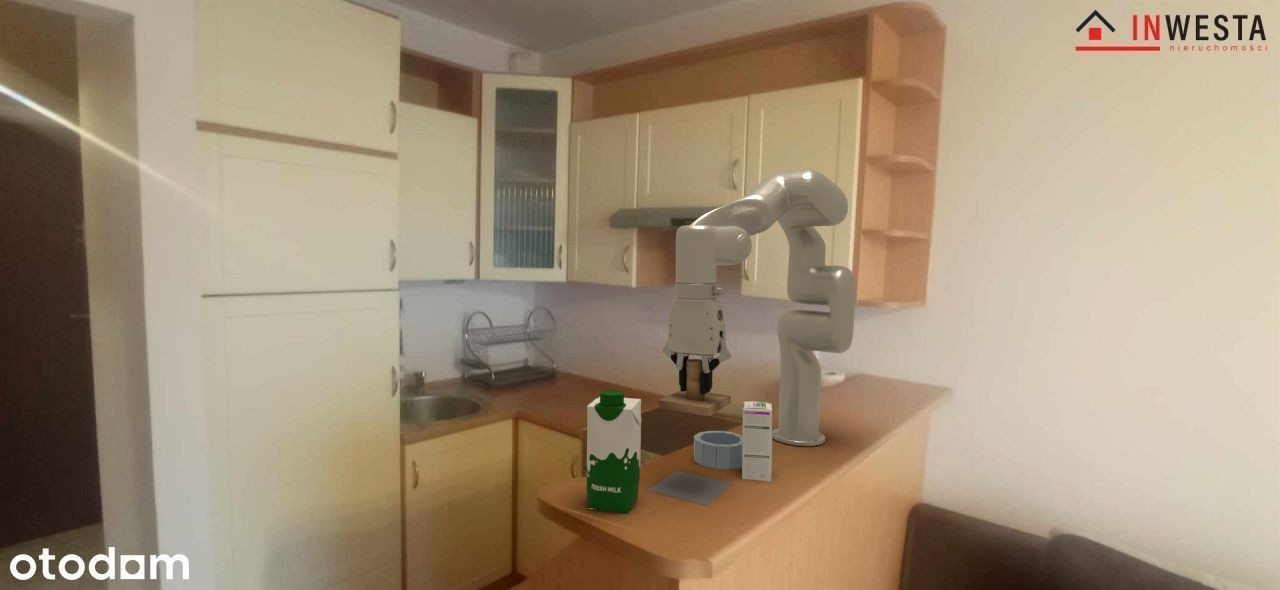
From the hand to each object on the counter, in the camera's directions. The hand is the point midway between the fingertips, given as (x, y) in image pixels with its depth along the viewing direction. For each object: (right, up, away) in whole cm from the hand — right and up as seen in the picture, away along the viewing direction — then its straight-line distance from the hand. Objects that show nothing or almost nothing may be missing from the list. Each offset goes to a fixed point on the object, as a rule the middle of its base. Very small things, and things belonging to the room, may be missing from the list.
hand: (695, 390), depth 103 cm
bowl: (+7, -18, +16) cm, 25 cm away
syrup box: (+13, -19, +7) cm, 24 cm away
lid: (0, -3, 0) cm, 3 cm away
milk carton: (-15, -19, -7) cm, 25 cm away
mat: (-1, -18, 0) cm, 18 cm away
